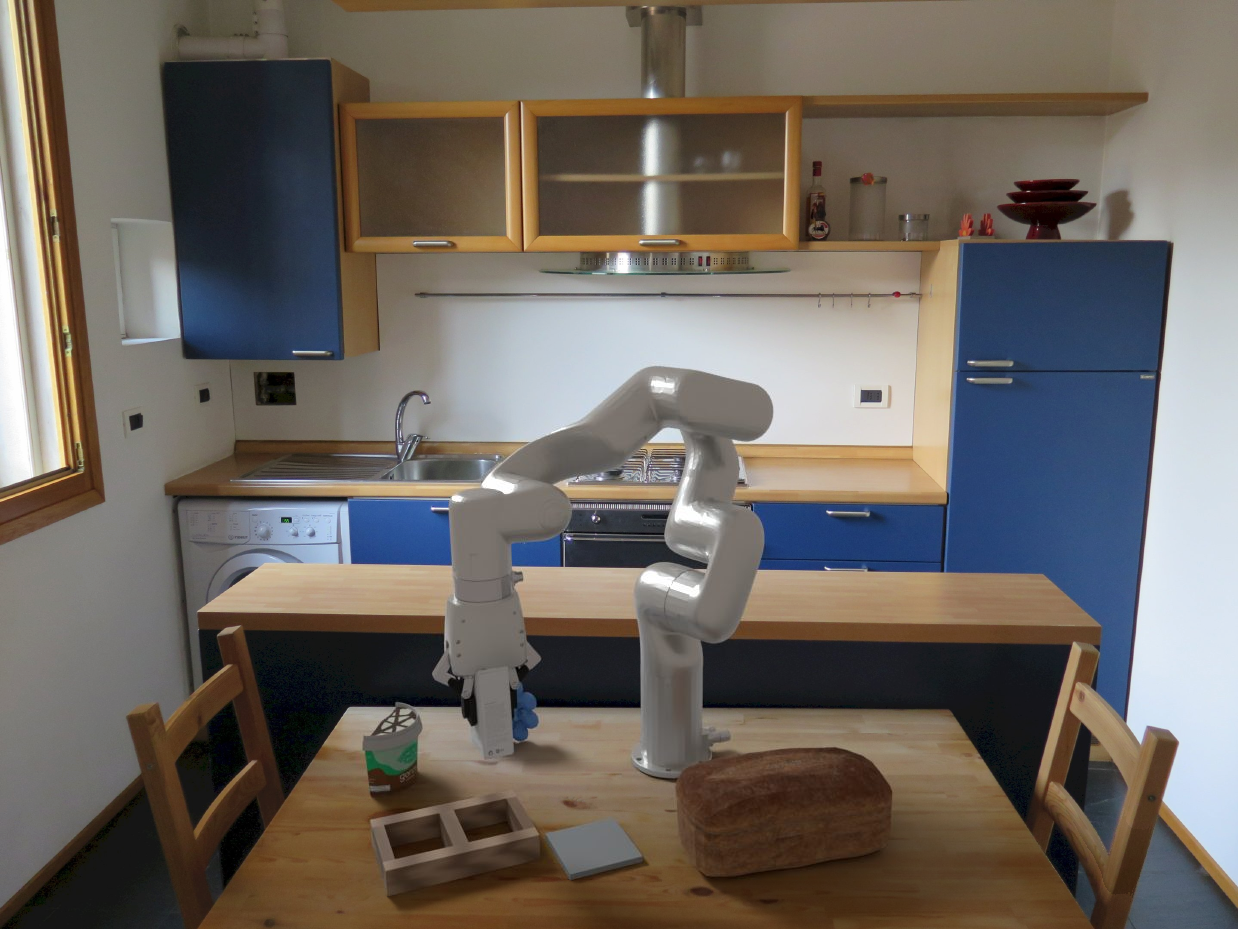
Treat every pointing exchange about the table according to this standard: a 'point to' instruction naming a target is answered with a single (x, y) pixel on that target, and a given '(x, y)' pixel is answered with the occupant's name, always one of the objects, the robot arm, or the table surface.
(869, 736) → the table surface
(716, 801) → the bread
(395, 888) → the board
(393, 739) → the food container
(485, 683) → the skincare box
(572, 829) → the mat
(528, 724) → the blue knobbed wheel
